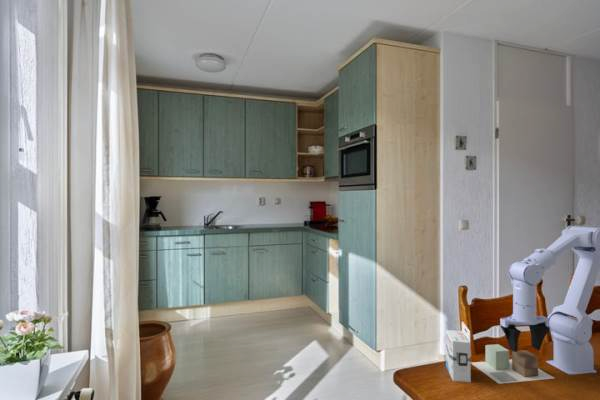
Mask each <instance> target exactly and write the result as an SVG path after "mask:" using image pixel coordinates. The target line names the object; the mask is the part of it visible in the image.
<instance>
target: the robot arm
mask: <svg viewBox="0 0 600 400" xmlns="http://www.w3.org/2000/svg"><path fill="white" fill-rule="evenodd" d="M571 250H572V252H573V253H574V254H576V255H577V256H578V258H579V260H578V262H577V264H576V265H577V266H576V268H575V271H574V274H573V275H572V278H571V281H570V284H569V288H568V290H567V293H566V296H565V298H564V301H563V304H560V305H557V306H554V307H553V309H552V312H550V313H549V315H548V316H547V317H546V316H544V315H537V284H540V282H541V281H542V278H543V276H544V275H545V272H547V271H548V270H550V269H551V268H552V267H554V266H556V264H557V261H558V260H557V258H559V257H560V256H562V255H564V254H566V253H567V252H569V251H571ZM599 273H600V227H592V226H590V227H589V226H578V225H577V226H576V225H568V226H567V227H566V228H564V229H562V231H561V236H559V237H558V238H557V239H556V240H555V241H554V242H552V243H551V244H550V245H549V246H548V247H547V248H536V249H534V252H533V253H531V254H530V255H528V256H527V257H524V259H523V260H521V261H516V262H514V263H512V264H511V265H510V266H509V269H508V270H507V274H508V277H509V279H510V281H511V283H510V284H511V286H512V313H511V315H509V316H507V317H501V318H500V319H499V321H500V323H499V324H500V326H499V327H500V328H501V330H502V331H503V334H504V335H505V337H506V338H505V339H506V341H507V344H508V347H509V351H514V352H517V351H518V348H519V345H518V344H519V338H520V335H521V333H522V330H520V329H518V328H517V327H519V326H528V327H529V331H530V338H531V339H530V343H531V347H532V348H533V349H535V350H537V351H540V350H541V347H542V344H543V341H544V339H545V338H546V336H547V335H548V333H549V332H550V335H551V336H553V337H552V338H553V360H552V359H551V360H546V363H547V364H549V365H551V366H553V367H554V368H556V369H558V370H560V371H562V372H563V373H566V374H568V375H570V376H571V375H580V374H581V375H582V374H592V373H593V374H597V370H595V367H594V347H593V346H592V344H591V343H590V339H591V338H592V335H593V334H592V333H593V331H592V330H593V329H592V328H593V324H594V321H593V320H592V319H591V317H590V316H589V315H588V314H587V313H586V310H587V308H588V304H589V302H590V299H591V297H592V294H593V290H594V288H595V285H596V282H597V279H598V276H599ZM516 326H517V327H516Z"/></svg>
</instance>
